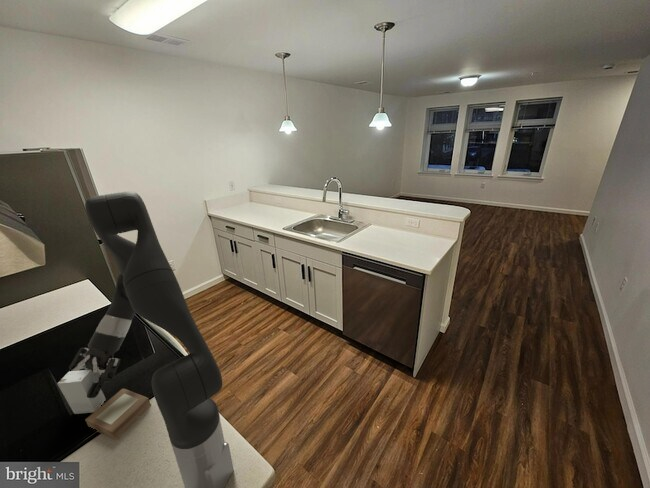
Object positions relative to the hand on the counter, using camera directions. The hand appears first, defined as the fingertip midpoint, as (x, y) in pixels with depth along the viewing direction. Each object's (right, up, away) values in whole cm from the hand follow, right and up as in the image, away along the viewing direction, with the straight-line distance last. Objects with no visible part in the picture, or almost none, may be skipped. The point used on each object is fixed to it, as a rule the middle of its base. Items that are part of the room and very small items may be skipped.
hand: (80, 393), depth 73 cm
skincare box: (0, -6, +3) cm, 7 cm away
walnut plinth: (+11, -7, 0) cm, 13 cm away
